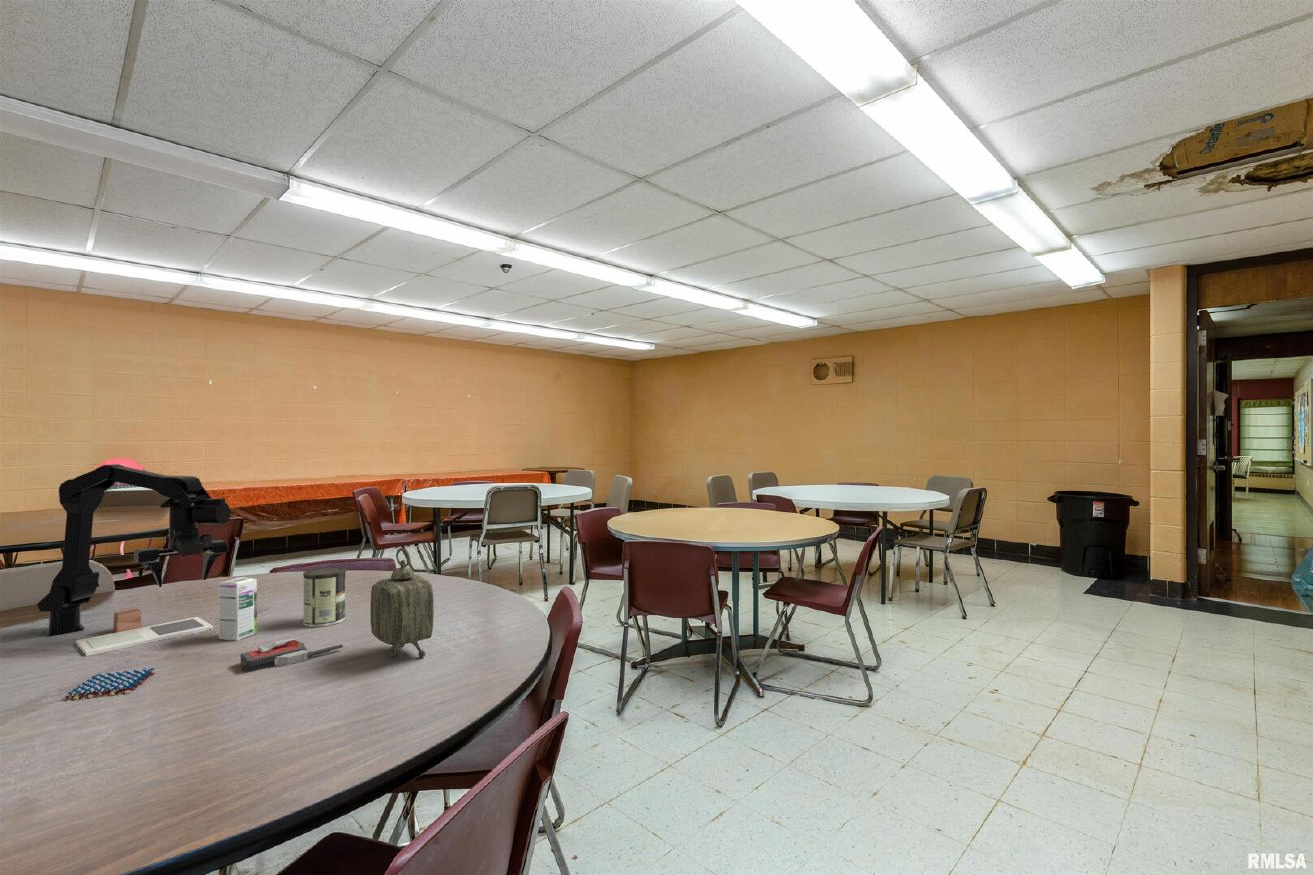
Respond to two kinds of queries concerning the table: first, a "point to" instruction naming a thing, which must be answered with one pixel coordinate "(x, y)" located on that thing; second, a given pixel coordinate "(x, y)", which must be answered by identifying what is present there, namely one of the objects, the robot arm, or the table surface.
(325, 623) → the coffee can
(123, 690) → the woven mat
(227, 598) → the syrup box
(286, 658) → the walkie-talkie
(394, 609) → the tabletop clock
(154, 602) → the table surface
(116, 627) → the terracotta block
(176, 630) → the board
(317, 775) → the table surface
